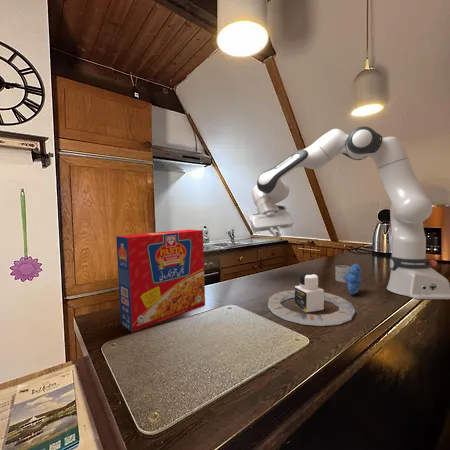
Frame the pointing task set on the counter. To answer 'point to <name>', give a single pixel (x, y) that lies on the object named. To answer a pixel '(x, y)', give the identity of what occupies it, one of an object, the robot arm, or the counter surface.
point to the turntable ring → (335, 318)
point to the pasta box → (159, 276)
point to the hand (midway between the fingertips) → (277, 236)
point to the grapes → (353, 279)
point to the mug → (341, 272)
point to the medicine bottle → (309, 293)
